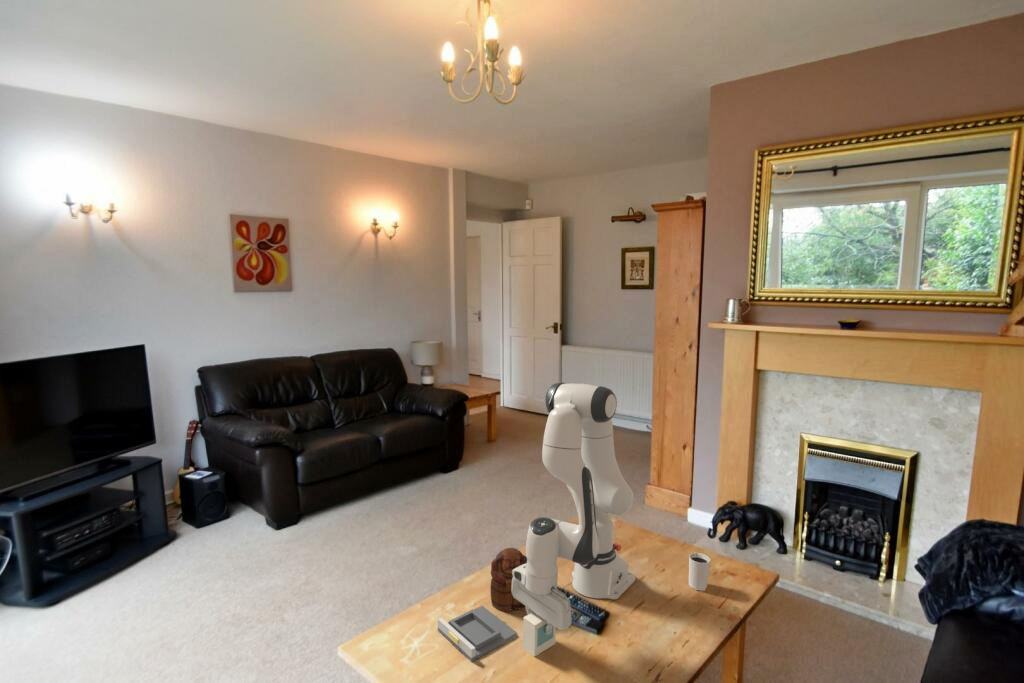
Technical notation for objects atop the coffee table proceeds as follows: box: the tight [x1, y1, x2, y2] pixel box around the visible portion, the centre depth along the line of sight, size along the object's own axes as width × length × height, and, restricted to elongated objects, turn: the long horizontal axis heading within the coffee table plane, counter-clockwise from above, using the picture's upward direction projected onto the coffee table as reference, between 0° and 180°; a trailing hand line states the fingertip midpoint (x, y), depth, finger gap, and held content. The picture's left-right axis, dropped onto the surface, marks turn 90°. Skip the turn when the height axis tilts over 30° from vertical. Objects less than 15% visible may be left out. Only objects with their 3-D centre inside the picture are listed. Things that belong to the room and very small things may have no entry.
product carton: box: [522, 612, 557, 658], centre depth 144 cm, size 5×8×9 cm, turn 131°
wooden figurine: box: [490, 547, 527, 612], centre depth 161 cm, size 12×6×18 cm, turn 110°
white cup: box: [688, 552, 711, 590], centre depth 174 cm, size 7×7×10 cm
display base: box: [437, 605, 518, 662], centre depth 149 cm, size 16×16×4 cm
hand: (539, 626), depth 144 cm, fingers closed on product carton, 5 cm apart
